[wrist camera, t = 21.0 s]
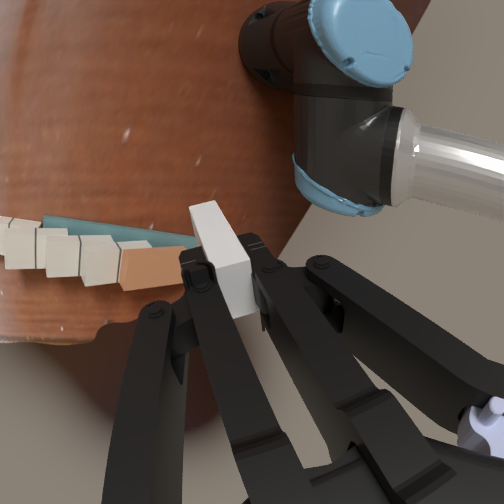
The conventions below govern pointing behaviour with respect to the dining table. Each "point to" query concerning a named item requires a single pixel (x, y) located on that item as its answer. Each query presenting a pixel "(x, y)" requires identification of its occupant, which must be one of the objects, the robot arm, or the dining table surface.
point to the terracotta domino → (150, 267)
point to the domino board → (119, 232)
